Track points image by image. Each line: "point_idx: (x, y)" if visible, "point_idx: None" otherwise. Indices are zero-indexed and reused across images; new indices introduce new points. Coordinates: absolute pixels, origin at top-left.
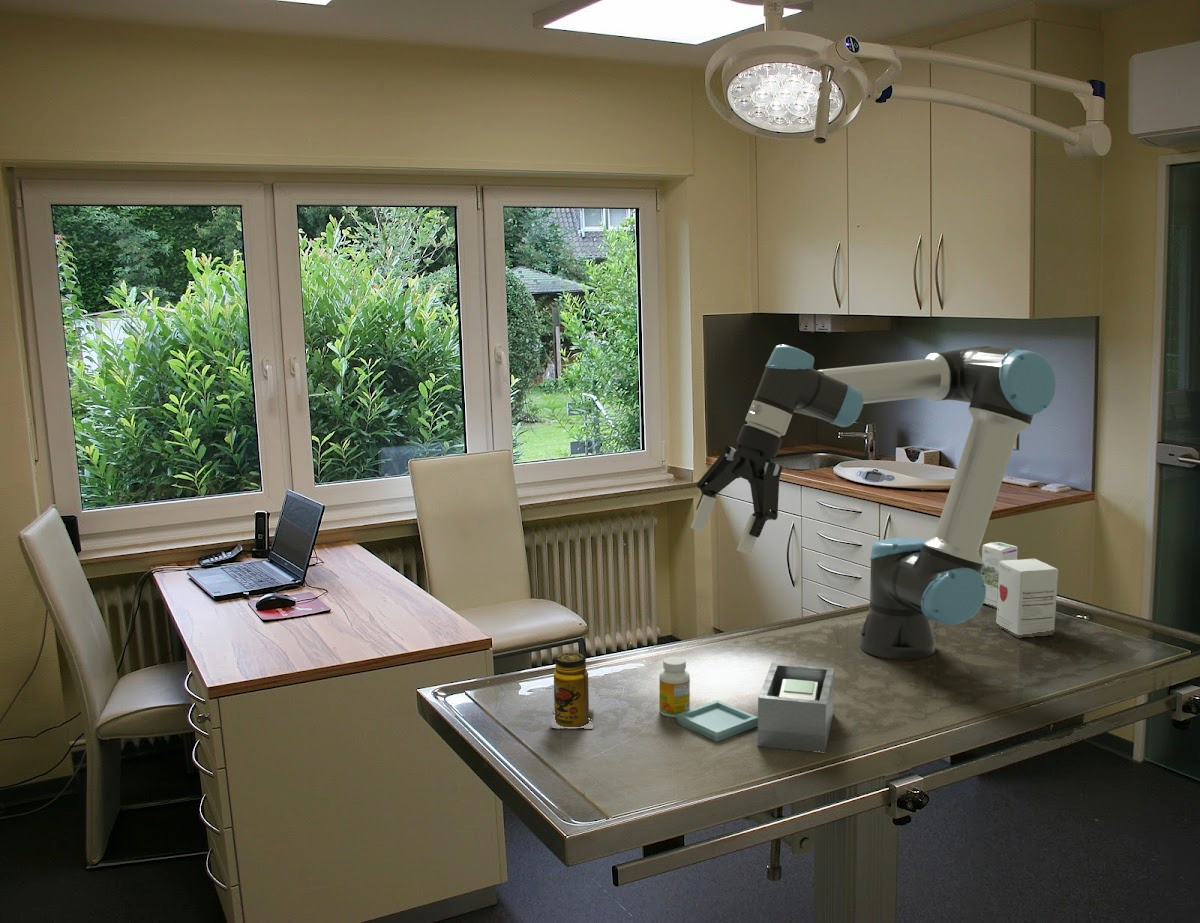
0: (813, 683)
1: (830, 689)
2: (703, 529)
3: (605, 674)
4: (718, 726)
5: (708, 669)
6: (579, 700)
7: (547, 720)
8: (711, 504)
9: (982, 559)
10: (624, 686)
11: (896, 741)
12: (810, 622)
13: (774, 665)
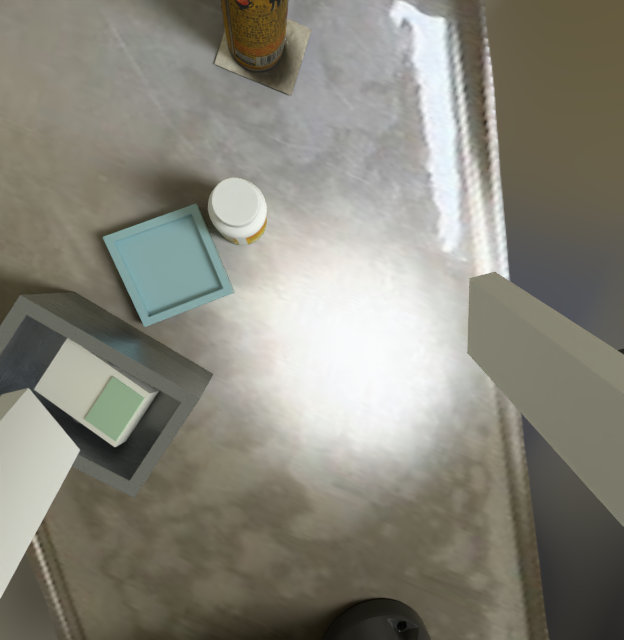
0: (110, 436)
1: None
2: (477, 357)
3: (428, 174)
4: (146, 257)
5: (391, 343)
6: (222, 9)
7: None
8: (615, 490)
9: None
10: (369, 184)
11: None
12: (519, 571)
13: (181, 395)
